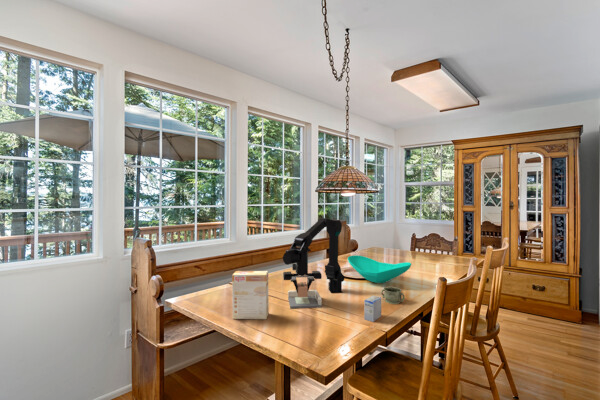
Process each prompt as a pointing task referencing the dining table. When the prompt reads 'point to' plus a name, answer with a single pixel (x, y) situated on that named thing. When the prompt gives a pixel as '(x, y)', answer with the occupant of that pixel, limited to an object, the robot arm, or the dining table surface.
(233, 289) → the coffeecake box
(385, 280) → the table top decor
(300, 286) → the terracotta block
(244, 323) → the dining table surface
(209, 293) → the dining table surface
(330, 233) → the robot arm
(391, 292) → the vessel
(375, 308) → the medicine box
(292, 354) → the dining table surface
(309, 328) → the dining table surface
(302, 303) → the tray
